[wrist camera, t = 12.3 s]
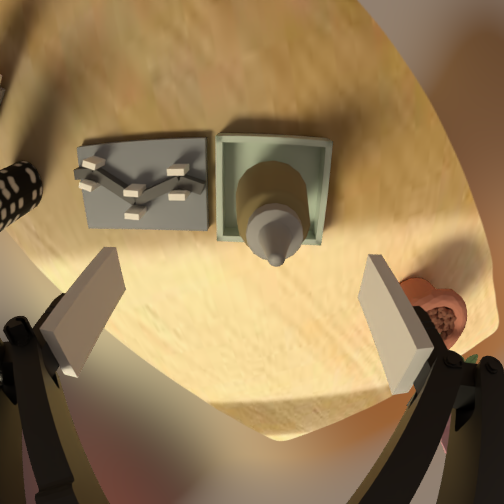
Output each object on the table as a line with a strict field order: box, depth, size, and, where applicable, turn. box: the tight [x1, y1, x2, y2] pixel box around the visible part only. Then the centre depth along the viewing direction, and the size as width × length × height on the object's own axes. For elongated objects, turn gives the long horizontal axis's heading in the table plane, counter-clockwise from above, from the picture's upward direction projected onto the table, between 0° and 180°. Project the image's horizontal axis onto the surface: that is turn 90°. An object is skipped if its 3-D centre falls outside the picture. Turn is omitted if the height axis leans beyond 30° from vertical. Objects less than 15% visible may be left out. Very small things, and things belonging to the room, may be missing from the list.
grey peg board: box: [74, 137, 209, 231], centre depth 36 cm, size 12×18×4 cm, turn 88°
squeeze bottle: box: [236, 160, 310, 267], centre depth 29 cm, size 8×8×18 cm
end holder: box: [216, 133, 333, 245], centre depth 36 cm, size 13×13×3 cm
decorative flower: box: [400, 278, 478, 454], centre depth 32 cm, size 15×14×30 cm
